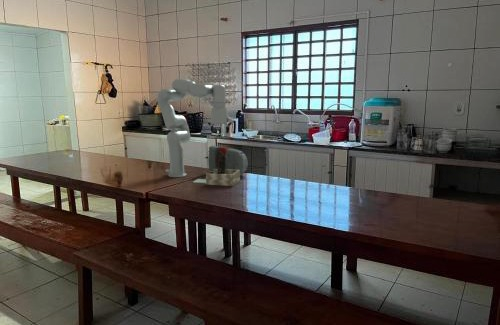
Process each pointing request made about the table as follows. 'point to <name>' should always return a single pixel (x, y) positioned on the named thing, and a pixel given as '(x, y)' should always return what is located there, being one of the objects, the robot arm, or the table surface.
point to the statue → (221, 164)
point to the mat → (200, 181)
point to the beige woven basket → (223, 178)
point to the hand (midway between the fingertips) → (220, 132)
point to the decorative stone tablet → (227, 159)
